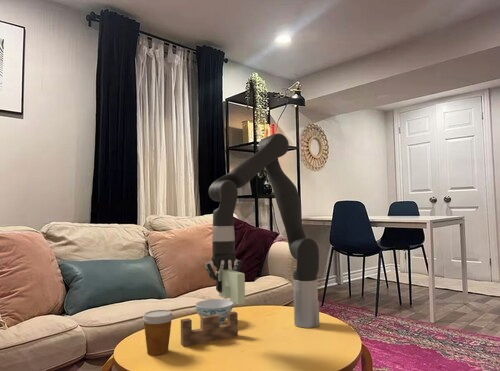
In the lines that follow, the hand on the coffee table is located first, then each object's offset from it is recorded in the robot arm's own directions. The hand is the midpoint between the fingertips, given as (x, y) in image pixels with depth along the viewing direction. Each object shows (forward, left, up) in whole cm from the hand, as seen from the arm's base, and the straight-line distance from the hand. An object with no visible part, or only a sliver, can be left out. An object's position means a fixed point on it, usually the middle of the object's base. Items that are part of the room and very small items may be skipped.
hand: (223, 291), depth 124 cm
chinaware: (+6, -25, -17) cm, 31 cm away
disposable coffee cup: (+20, +6, -17) cm, 28 cm away
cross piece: (-3, +5, -2) cm, 6 cm away
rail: (+5, -5, -17) cm, 19 cm away
